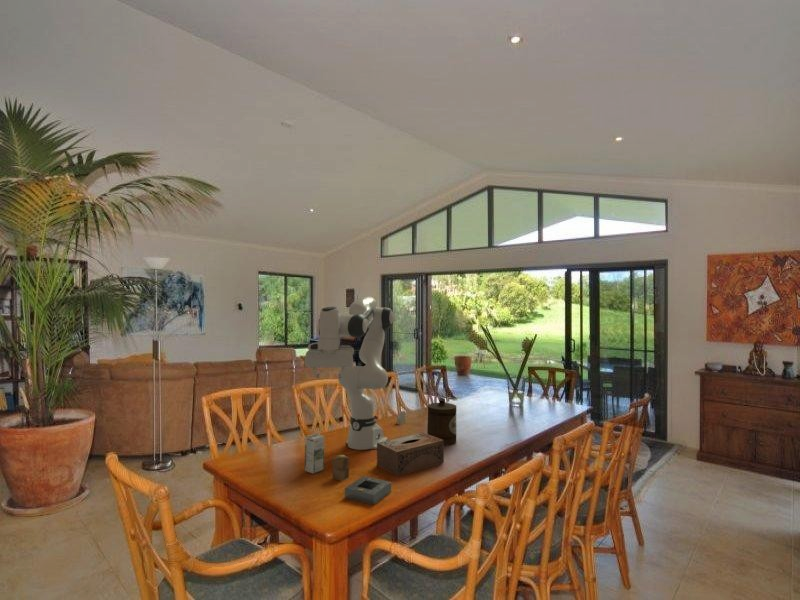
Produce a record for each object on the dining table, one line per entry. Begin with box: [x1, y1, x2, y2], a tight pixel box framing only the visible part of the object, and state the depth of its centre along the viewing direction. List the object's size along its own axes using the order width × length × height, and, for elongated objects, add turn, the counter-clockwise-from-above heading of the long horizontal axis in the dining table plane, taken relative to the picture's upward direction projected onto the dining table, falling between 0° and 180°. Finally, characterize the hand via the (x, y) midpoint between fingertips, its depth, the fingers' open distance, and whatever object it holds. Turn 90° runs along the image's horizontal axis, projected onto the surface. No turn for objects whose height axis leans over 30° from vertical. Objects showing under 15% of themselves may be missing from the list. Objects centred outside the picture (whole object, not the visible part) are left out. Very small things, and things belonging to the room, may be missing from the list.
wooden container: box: [426, 397, 458, 447], centre depth 220 cm, size 15×15×22 cm
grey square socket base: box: [344, 475, 392, 506], centre depth 157 cm, size 12×12×4 cm
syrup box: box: [304, 433, 325, 474], centre depth 180 cm, size 6×6×14 cm
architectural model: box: [394, 410, 406, 426], centre depth 254 cm, size 3×7×7 cm, turn 146°
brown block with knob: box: [332, 454, 350, 482], centre depth 172 cm, size 5×5×9 cm
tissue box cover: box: [376, 432, 445, 477], centre depth 188 cm, size 26×14×10 cm, turn 127°
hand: (328, 378), depth 181 cm, fingers open, 8 cm apart
